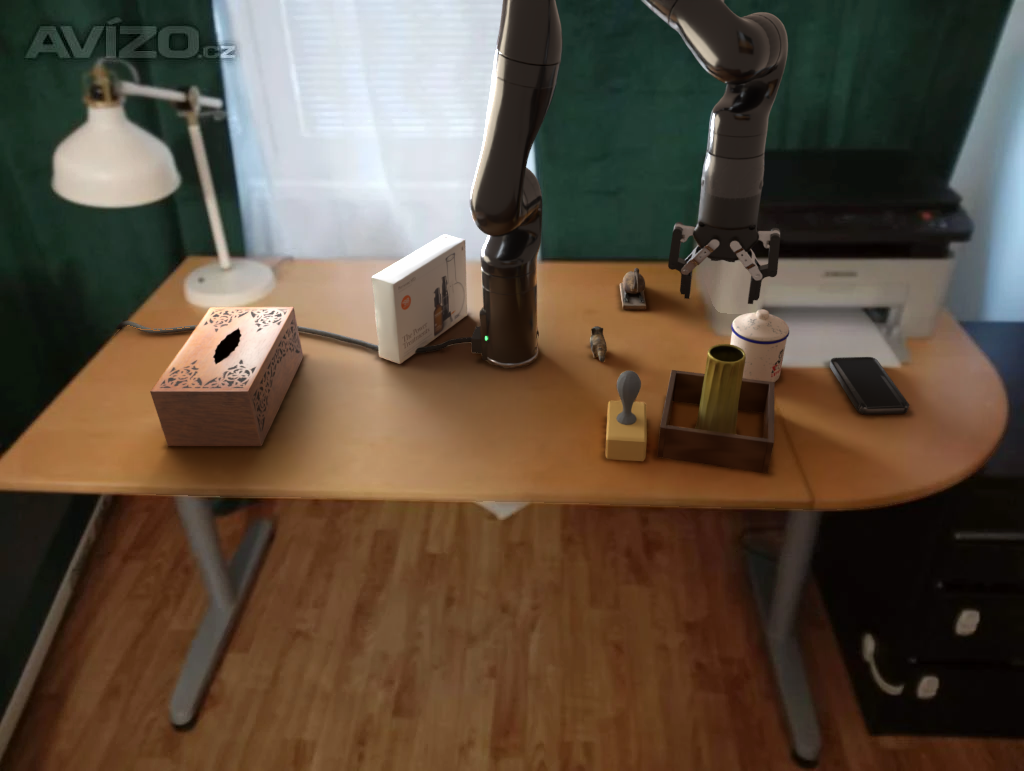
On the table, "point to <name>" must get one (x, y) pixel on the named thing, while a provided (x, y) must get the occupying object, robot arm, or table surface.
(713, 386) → the vase
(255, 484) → the table surface
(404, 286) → the skincare box
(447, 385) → the table surface
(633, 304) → the figurine
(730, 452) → the crate
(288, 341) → the tissue box cover
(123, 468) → the table surface
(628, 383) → the rubber stamp
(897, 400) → the phone
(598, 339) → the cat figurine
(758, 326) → the teacup with lid
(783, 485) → the table surface
